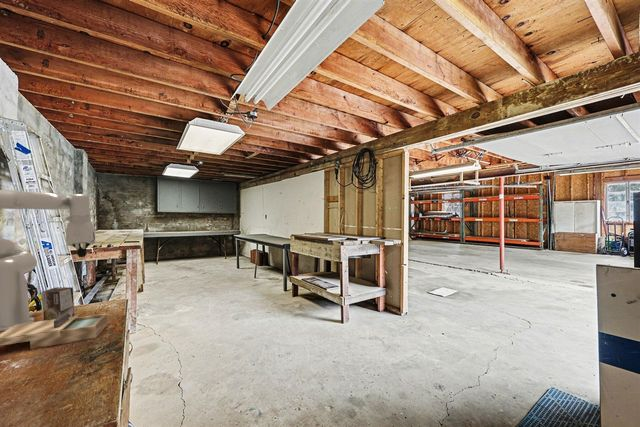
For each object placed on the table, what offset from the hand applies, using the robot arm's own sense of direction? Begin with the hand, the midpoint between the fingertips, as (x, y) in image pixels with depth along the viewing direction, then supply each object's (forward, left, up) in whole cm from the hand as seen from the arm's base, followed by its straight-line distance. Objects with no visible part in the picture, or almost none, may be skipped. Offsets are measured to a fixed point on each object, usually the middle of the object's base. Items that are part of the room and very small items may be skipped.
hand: (82, 256), depth 133 cm
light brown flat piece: (-7, -24, -26) cm, 36 cm away
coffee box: (-7, -7, -29) cm, 31 cm away
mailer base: (+4, -24, -29) cm, 38 cm away
